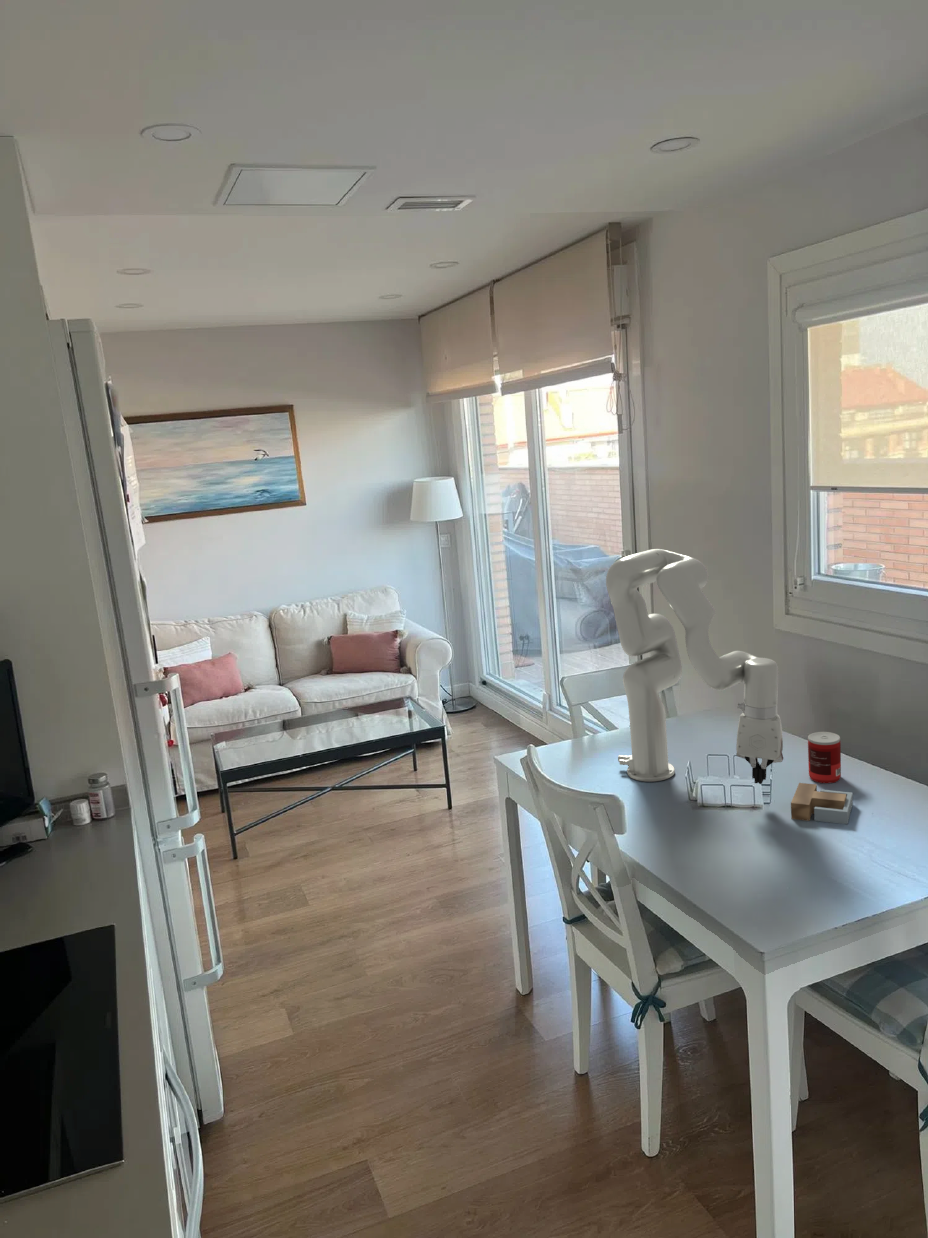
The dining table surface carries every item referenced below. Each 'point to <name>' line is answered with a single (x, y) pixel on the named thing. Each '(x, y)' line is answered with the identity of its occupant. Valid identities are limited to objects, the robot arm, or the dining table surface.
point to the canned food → (824, 757)
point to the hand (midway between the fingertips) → (759, 781)
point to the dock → (835, 810)
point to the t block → (813, 801)
